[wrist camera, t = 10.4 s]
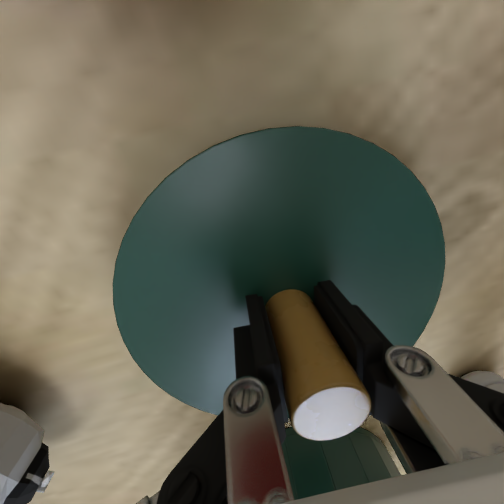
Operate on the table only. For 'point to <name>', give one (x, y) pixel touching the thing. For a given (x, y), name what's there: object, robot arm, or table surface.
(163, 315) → the green pot lid
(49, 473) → the robot toy
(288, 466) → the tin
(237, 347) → the robot arm
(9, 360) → the table surface
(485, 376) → the light bulb
